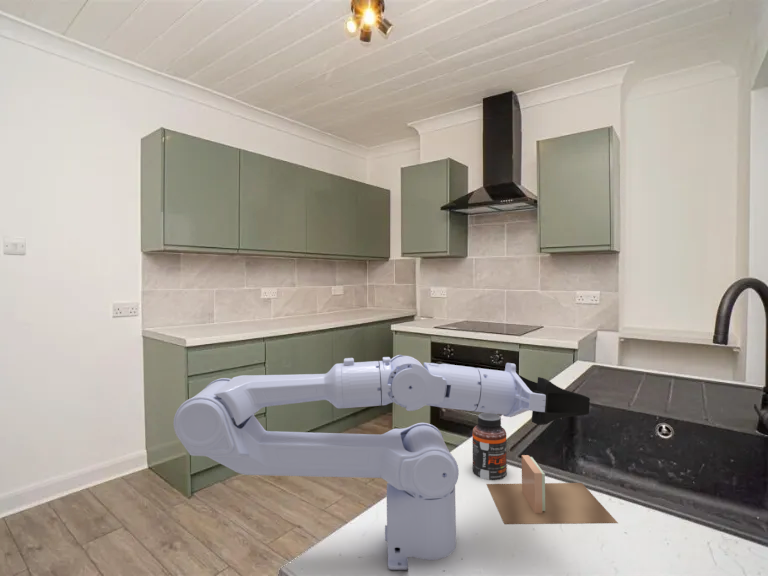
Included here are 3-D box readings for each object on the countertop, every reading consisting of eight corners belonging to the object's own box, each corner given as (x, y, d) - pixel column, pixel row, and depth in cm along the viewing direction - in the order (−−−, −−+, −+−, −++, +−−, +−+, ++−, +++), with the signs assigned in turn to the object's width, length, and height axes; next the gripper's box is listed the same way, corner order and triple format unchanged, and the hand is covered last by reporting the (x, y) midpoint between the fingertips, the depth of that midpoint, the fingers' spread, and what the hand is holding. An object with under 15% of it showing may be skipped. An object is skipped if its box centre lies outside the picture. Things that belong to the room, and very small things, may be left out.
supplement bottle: (490, 490, 69) (490, 424, 68) (465, 476, 74) (464, 415, 73) (514, 480, 72) (513, 417, 72) (488, 467, 77) (487, 408, 77)
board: (504, 532, 58) (504, 523, 58) (486, 490, 69) (486, 483, 69) (618, 531, 57) (618, 522, 57) (581, 489, 68) (581, 482, 68)
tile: (534, 513, 60) (534, 473, 60) (522, 491, 66) (521, 455, 66) (545, 513, 60) (545, 473, 60) (531, 491, 66) (531, 455, 66)
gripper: (496, 362, 48) (606, 376, 49) (462, 356, 62) (547, 366, 63) (491, 424, 47) (603, 437, 48) (457, 403, 61) (543, 413, 62)
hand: (571, 400), depth 55 cm, fingers open, 7 cm apart
